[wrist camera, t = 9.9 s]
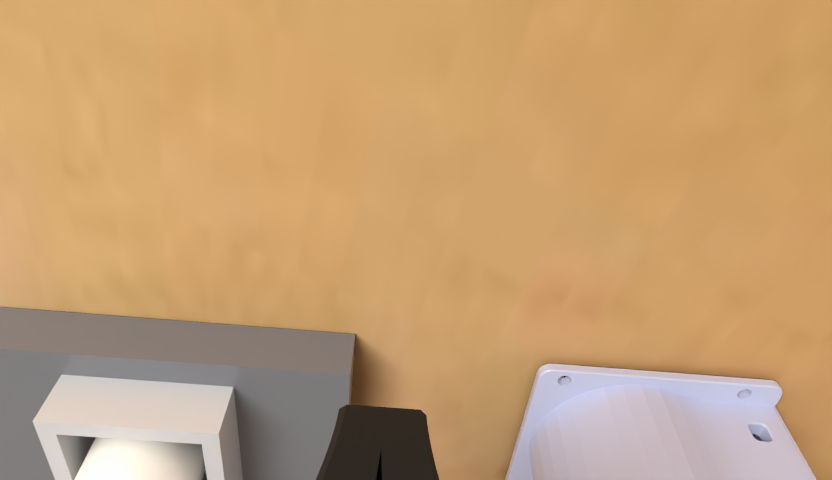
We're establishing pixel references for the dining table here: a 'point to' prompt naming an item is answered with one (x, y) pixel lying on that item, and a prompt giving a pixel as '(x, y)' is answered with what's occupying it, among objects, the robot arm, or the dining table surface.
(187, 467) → the knob
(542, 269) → the dining table surface
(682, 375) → the robot arm
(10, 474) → the panel
